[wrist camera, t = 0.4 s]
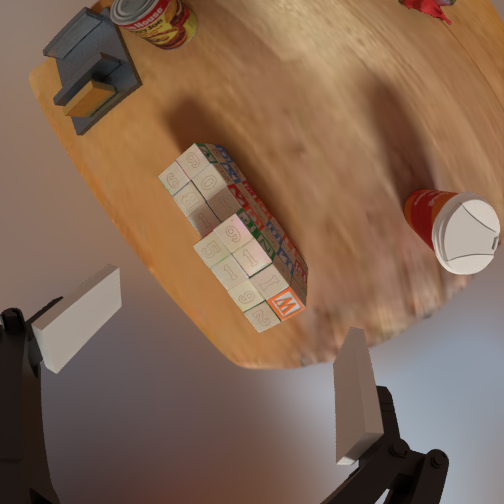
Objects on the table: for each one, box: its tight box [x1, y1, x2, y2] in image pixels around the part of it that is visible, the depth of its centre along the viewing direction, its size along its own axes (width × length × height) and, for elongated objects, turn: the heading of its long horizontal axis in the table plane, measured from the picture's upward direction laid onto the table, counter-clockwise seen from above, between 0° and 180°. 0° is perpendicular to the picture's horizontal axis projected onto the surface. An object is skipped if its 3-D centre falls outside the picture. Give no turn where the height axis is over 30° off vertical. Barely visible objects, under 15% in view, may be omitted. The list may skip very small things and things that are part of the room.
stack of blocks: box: [158, 143, 308, 333], centre depth 35 cm, size 21×6×12 cm, turn 37°
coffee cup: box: [404, 189, 500, 274], centre depth 27 cm, size 8×8×15 cm
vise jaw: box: [53, 51, 119, 117], centre depth 34 cm, size 6×12×6 cm, turn 116°
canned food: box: [110, 0, 198, 50], centre depth 27 cm, size 8×8×12 cm
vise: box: [43, 7, 143, 135], centre depth 34 cm, size 22×15×6 cm
